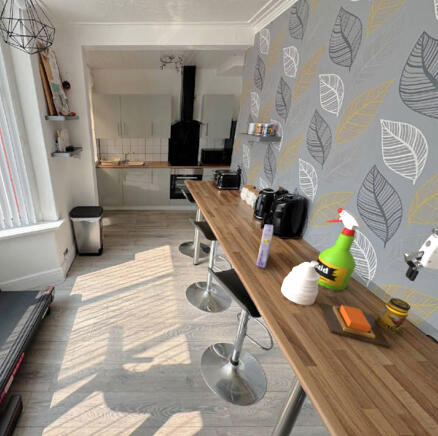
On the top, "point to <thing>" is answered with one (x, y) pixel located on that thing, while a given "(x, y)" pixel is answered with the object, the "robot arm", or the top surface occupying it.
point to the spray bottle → (339, 254)
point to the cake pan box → (265, 246)
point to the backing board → (340, 328)
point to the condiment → (393, 315)
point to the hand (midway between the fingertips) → (428, 281)
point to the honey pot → (302, 284)
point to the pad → (354, 319)
